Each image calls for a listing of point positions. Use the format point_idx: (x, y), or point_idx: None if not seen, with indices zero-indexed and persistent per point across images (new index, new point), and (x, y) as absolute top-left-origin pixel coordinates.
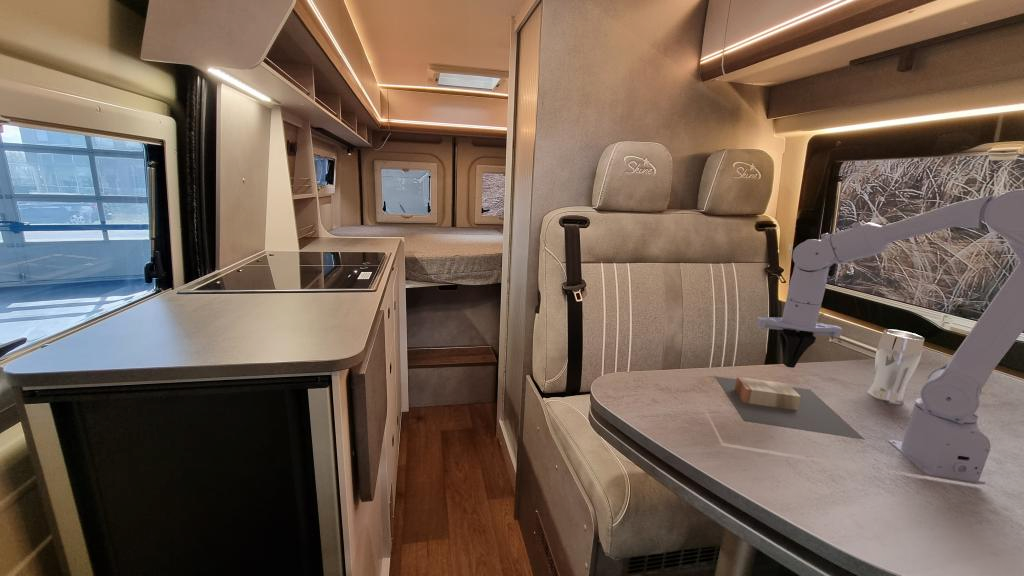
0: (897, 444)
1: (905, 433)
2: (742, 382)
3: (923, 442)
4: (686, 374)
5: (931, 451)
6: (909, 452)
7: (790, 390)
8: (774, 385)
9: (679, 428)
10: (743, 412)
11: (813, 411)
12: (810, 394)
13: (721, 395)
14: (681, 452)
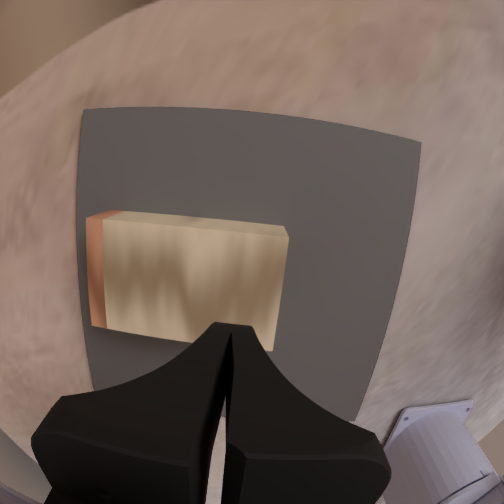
0: (405, 423)
1: (414, 450)
2: (91, 271)
3: (398, 483)
4: (16, 119)
5: (390, 490)
6: (391, 452)
7: (260, 307)
8: (212, 272)
9: (5, 399)
10: (99, 359)
11: (323, 320)
12: (398, 186)
13: (68, 253)
14: (20, 443)
